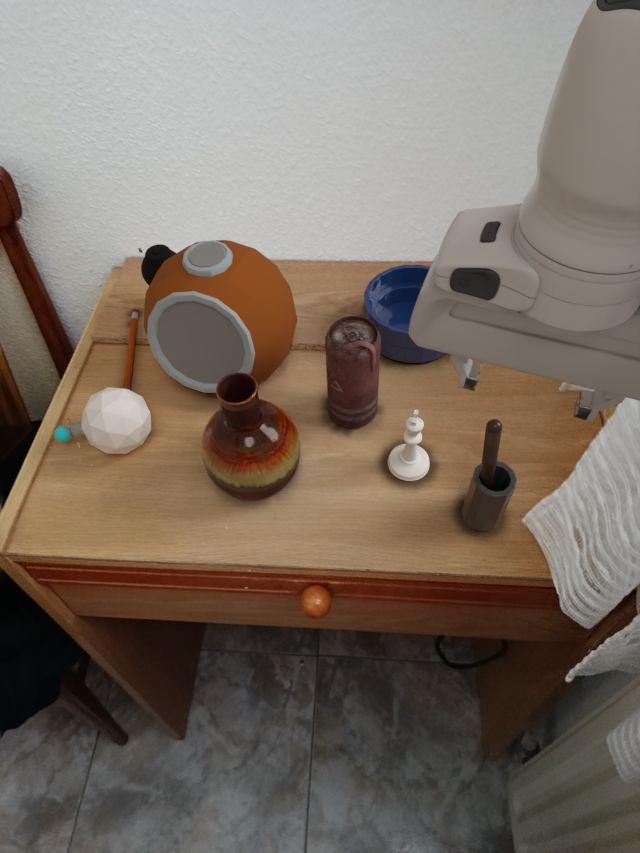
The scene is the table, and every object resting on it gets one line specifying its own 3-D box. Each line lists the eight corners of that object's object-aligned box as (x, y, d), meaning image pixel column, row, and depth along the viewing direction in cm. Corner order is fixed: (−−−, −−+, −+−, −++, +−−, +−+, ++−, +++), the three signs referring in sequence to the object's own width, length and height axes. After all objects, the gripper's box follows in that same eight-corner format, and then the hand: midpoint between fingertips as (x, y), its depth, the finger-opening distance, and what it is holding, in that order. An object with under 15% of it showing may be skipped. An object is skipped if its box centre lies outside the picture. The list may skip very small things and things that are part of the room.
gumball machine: (204, 295, 89) (189, 239, 81) (190, 323, 86) (173, 267, 78) (162, 289, 90) (143, 233, 82) (147, 317, 87) (126, 261, 79)
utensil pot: (503, 504, 67) (519, 466, 60) (496, 536, 65) (512, 501, 58) (466, 493, 68) (478, 455, 61) (457, 525, 66) (469, 489, 59)
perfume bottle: (153, 454, 68) (53, 479, 69) (167, 430, 76) (77, 454, 77) (130, 390, 66) (26, 417, 66) (146, 373, 74) (53, 397, 74)
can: (360, 439, 73) (362, 363, 61) (318, 415, 75) (313, 337, 64) (387, 407, 75) (394, 328, 64) (347, 384, 78) (346, 305, 66)
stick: (489, 508, 66) (504, 417, 53) (486, 519, 65) (501, 429, 52) (476, 505, 66) (488, 414, 54) (473, 516, 66) (485, 426, 53)
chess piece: (432, 450, 71) (443, 399, 63) (425, 485, 69) (435, 436, 61) (392, 442, 72) (397, 390, 64) (383, 476, 70) (388, 426, 62)
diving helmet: (140, 396, 78) (94, 296, 64) (188, 305, 88) (157, 201, 74) (280, 421, 75) (264, 321, 61) (314, 323, 85) (307, 218, 71)
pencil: (139, 312, 87) (137, 308, 86) (127, 415, 76) (125, 410, 76) (133, 313, 87) (131, 308, 86) (120, 415, 76) (118, 411, 76)
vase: (223, 426, 75) (198, 341, 62) (310, 437, 73) (302, 351, 61) (198, 504, 68) (164, 426, 56) (293, 517, 67) (279, 440, 54)
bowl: (468, 308, 85) (475, 275, 80) (446, 376, 78) (452, 344, 73) (379, 289, 88) (381, 256, 83) (350, 352, 81) (350, 320, 76)
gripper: (755, 267, 37) (659, 402, 49) (435, 207, 42) (416, 342, 53) (759, 337, 34) (655, 464, 45) (411, 262, 39) (396, 395, 50)
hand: (524, 398), depth 49 cm, fingers open, 8 cm apart
